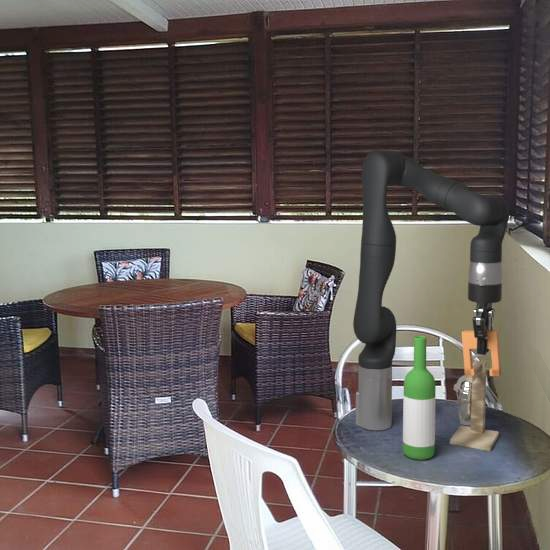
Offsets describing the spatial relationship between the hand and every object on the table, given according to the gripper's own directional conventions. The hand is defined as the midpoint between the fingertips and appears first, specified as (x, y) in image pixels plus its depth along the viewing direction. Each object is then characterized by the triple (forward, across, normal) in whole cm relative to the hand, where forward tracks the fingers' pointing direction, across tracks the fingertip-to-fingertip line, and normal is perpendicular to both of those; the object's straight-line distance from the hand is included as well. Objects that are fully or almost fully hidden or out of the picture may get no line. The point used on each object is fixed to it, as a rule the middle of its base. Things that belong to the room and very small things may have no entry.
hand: (482, 352), depth 157 cm
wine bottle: (+27, +3, -14) cm, 31 cm away
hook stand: (+27, -11, -4) cm, 29 cm away
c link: (+5, 0, 0) cm, 5 cm away
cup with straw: (+27, -24, -8) cm, 37 cm away
